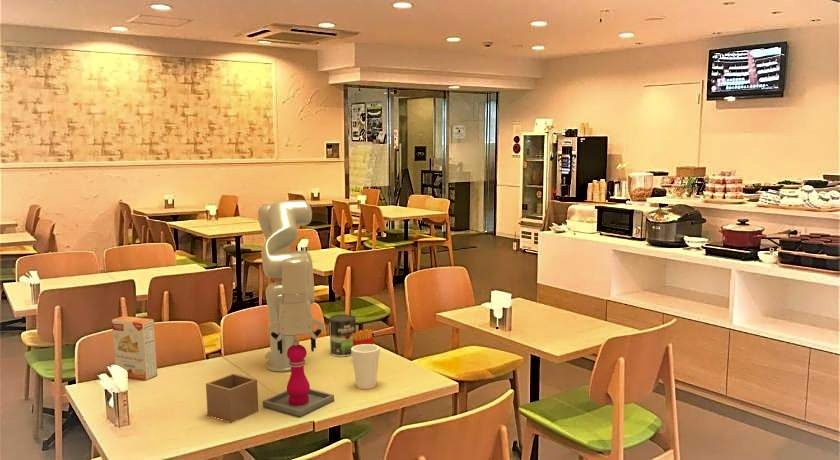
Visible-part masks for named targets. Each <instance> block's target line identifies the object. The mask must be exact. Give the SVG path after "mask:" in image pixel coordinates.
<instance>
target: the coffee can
mask: <svg viewBox="0 0 840 460" xmlns="http://www.w3.org/2000/svg"><path fill="white" fill-rule="evenodd" d="M356 319H357V318H356V315H351V314H337V315H332V316H330V317H329V318H328V320H329V351H330V352H329V354H330V356H332V357H337V358H338V357H339V358H340V357H341V358H342V357H343V358H345V357H346V358H347V357H352V356H351V348H352V347H354V346H353V336H352V334H353V333H356V332H357V329H356V328H357V327H356V324H357V323H356Z"/></svg>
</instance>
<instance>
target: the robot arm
mask: <svg viewBox="0 0 840 460" xmlns="http://www.w3.org/2000/svg"><path fill="white" fill-rule="evenodd" d="M312 218H313V211H312V207H311V205H310V203H309V201H307V200H306V199H305V200H304V199H295V200H293V199H291V200H288V199H287V200H278V201H275V202H272V203H266V204H263V205H261V206H260V207H258V210H257V220H258V224H259V227H260V229H261V231H262V234H263V236H264V239H265V241H264V243H263V244H262V248H261V254H260V255H261V263H262V269H263V273H264V276H266V277H267V278H269V279H281V281H275V282H272V283H270V284H269V285H267V286H266V288H265V299H266V305H267V310H268V321H269V325H268V326H267V328H266V329H267V331H268V332H269V343H270V345H269V347H270V348H269V349H270V351H268V352H267V353H266V354H265V355H264V358H265V359H268V362H267V363H266V369H267V370H269V371H272V372H278V373H279V372H281V373H282V372H283V373H284V372H291V366H289V361H290V359H289V358H288V357H287V351H288V349H289V347H291V346H292V345H294V341H295V340H298V339H297V336H304V335H305V336H306V335H307V336H308V335H309V336H310V349H311V352H315V348H317V343H316V339H317V338H318V337H319V336H320V334H322V331H323V329H324V327H325V323H324V322H322V321H320V320H317V319H315V318H313V310H312V305H313V304H314V302H315V297H316V295H315V294H316V293H315V281H314V277H315V276H314V266H313V259H312V256H311V254H310V253H309V251H307V250H292V249H291V245H292V244H293V243H295V242H296V241H297V239H298V237H299V230H298V227H299V226H300V227H301V226H303V227H304V226H307V225H309V224H310V223H311V221H312ZM314 325H316V326H318V328H317V329H316V330H315V331H314Z"/></svg>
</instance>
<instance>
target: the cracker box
mask: <svg viewBox="0 0 840 460" xmlns="http://www.w3.org/2000/svg"><path fill="white" fill-rule="evenodd" d="M154 321H155V320H154V319H152V318H146V317H145V318H143V317H137V316H136V317H135V316H126V315H122V316H120V317H116V318H113V319H111V324H112V340H113V350H114V351H113V353H114V366H115V365H118V366H120V367H122V368H124V369H126V370H127V372H128V377H129V378H130V379H136V380H141V381H148V380H151V379H152V378H154V377H157V376H158V366H157V351H156V337H155V322H154ZM128 377H127V378H128Z"/></svg>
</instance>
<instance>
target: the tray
mask: <svg viewBox="0 0 840 460" xmlns="http://www.w3.org/2000/svg"><path fill="white" fill-rule="evenodd" d="M308 395H309V402H308V403H306V404H304V405H299V406H295V405H291V404H289V396H290V395H289V394H288V393H287V390H284V391H282V392H280V393H278V394H276V395H273V396H271V397H268V398H267V399H265V400H262V408H264V409H268V410H272V411H276V412H279V413H282V414H285V415H289V416H293V417H296V418H303V417H304V416H307V415H308V414H311V413H312V412H314V411H317V410H318V409H321V408H322V407H325V406H326V405H329V404H331V403H333V402H335V395H334V394H332V393H328V392H324V391H319V390H315V389H312V388H310V391H309V392H308Z"/></svg>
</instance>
